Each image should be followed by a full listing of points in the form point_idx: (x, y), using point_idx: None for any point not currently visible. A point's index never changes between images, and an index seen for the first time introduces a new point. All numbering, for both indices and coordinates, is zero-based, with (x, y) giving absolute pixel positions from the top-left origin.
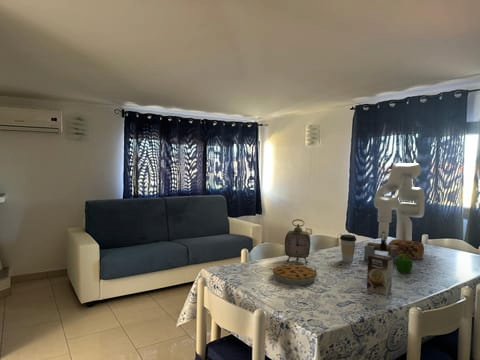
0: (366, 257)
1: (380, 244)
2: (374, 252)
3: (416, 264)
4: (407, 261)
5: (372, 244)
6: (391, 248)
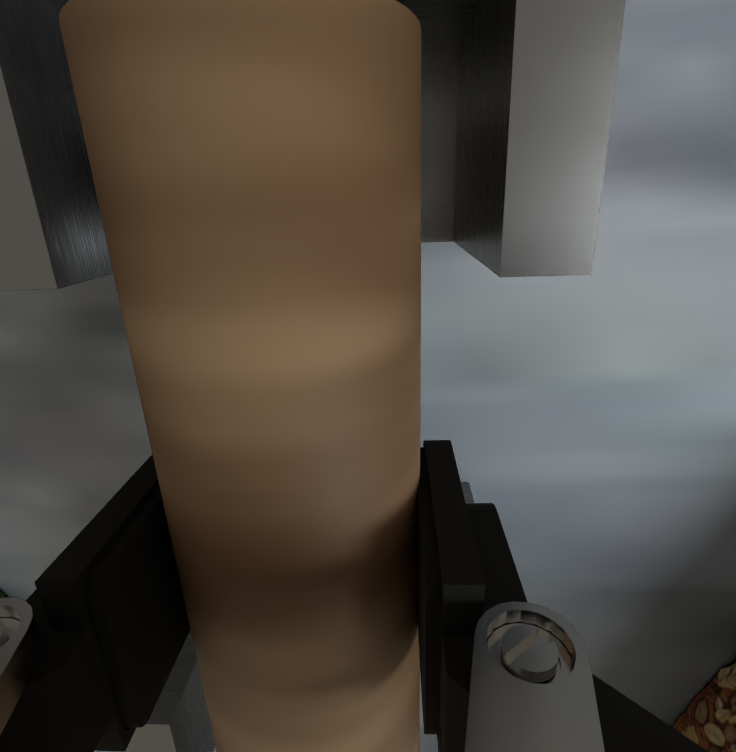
0: None
1: (60, 560)
2: (455, 239)
3: (420, 733)
4: None
5: (107, 211)
6: (156, 738)
